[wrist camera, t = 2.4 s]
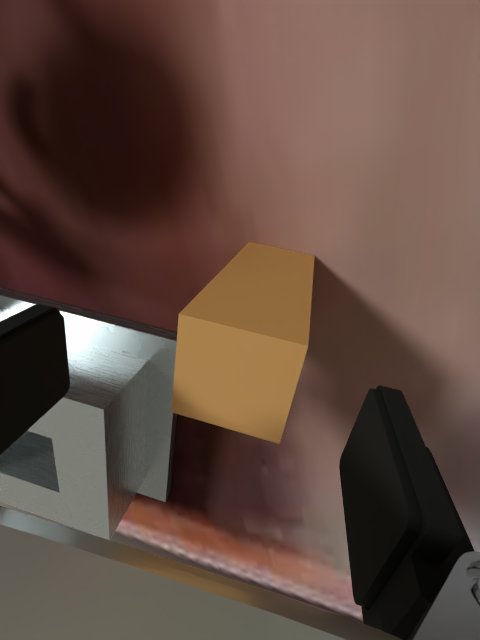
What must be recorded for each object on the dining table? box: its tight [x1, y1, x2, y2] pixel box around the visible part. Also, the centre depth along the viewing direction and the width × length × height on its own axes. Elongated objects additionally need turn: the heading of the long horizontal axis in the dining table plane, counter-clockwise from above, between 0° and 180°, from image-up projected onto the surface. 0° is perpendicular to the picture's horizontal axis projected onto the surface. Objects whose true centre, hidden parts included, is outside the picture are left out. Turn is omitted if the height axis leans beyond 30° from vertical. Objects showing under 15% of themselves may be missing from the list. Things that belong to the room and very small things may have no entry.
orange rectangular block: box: [171, 242, 315, 444], centre depth 14 cm, size 4×4×10 cm
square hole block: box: [0, 287, 177, 540], centre depth 23 cm, size 16×16×6 cm
